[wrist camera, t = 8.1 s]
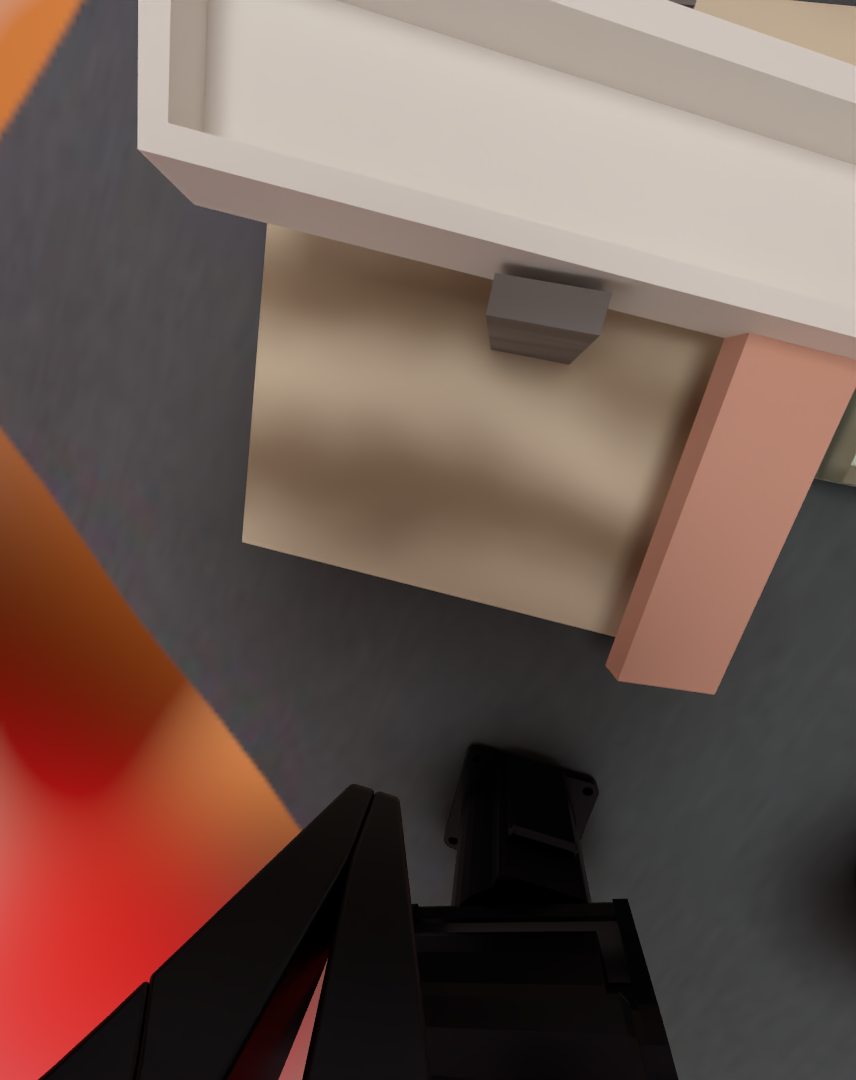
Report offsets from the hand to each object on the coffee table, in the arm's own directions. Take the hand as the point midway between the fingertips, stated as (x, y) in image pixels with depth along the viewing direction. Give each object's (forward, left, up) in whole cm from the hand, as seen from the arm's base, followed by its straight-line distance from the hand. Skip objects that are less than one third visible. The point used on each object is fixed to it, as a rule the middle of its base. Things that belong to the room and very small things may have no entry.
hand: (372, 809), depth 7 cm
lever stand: (+10, -1, -13) cm, 16 cm away
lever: (+7, -1, -9) cm, 11 cm away
